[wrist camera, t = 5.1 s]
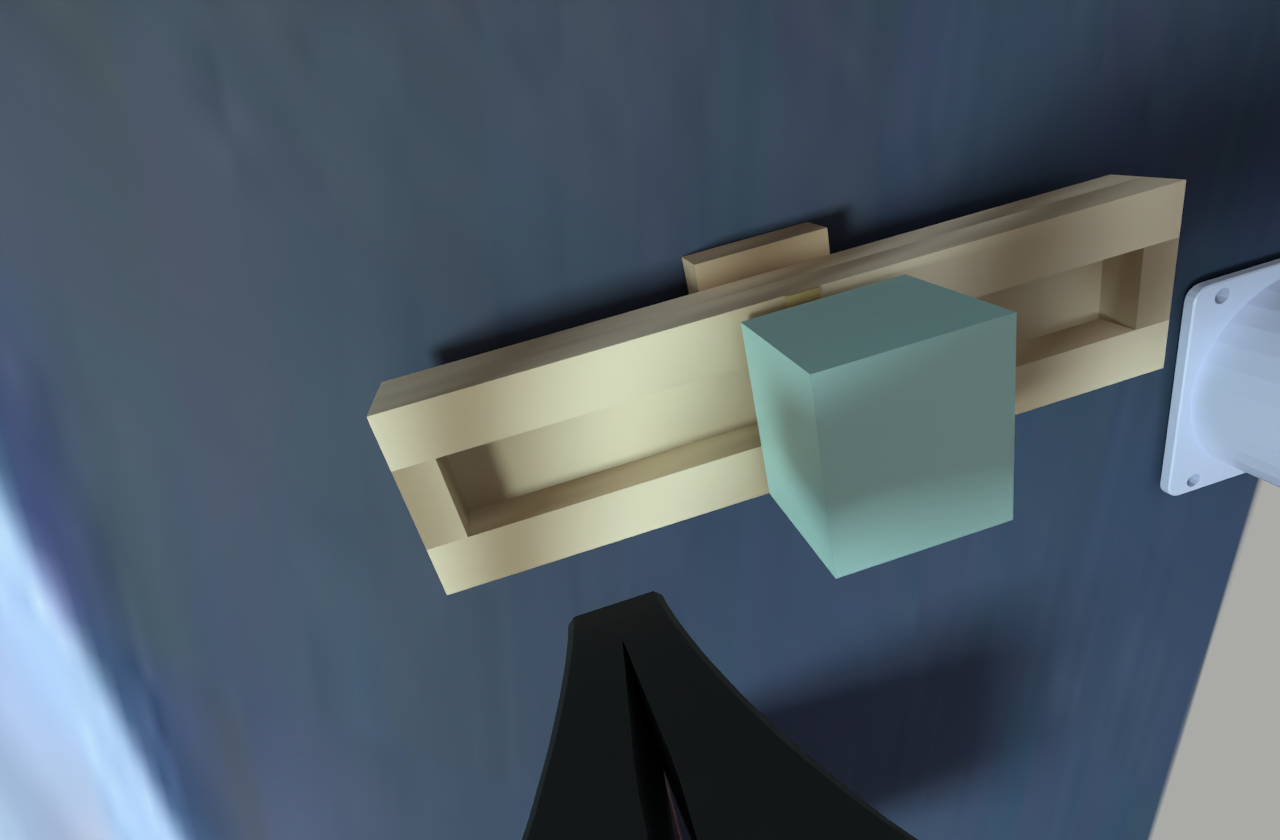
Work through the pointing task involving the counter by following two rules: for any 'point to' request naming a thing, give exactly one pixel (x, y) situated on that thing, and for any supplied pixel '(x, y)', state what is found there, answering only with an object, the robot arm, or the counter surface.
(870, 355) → the block
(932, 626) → the counter surface
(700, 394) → the beam
